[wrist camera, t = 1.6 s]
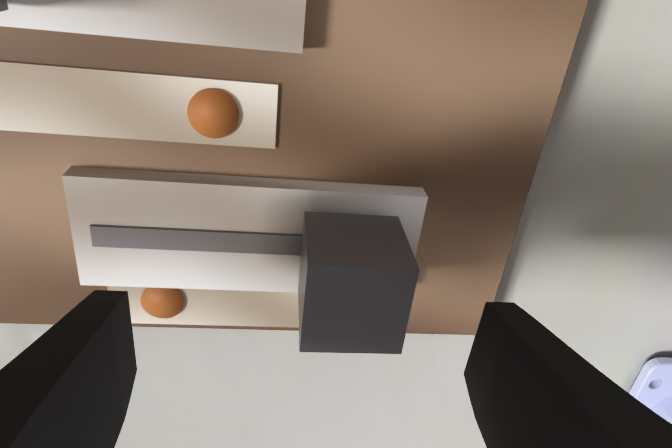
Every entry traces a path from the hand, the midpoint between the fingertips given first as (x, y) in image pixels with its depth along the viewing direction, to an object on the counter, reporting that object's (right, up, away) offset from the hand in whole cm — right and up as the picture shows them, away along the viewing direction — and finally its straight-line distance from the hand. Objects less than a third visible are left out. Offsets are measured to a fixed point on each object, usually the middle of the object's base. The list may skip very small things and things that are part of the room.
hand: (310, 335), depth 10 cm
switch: (+1, +2, +3) cm, 3 cm away
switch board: (-3, +5, +3) cm, 7 cm away
